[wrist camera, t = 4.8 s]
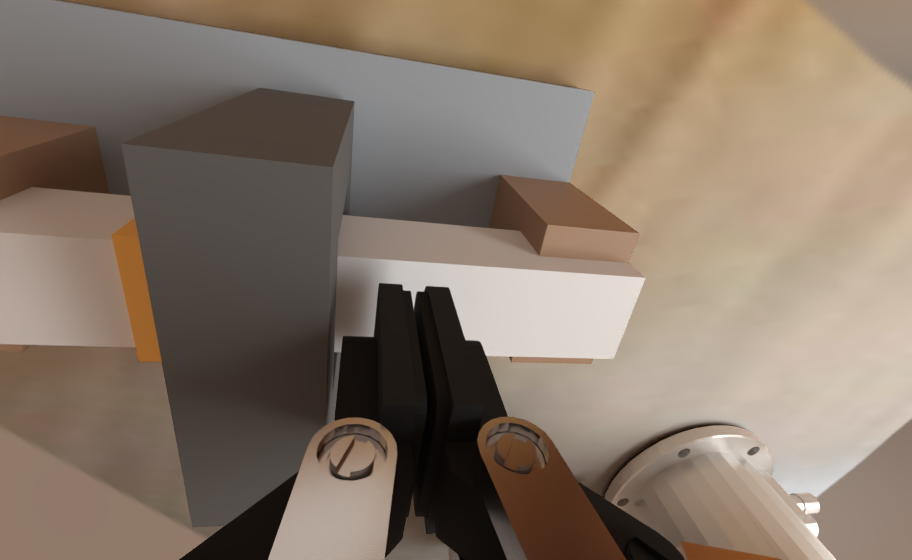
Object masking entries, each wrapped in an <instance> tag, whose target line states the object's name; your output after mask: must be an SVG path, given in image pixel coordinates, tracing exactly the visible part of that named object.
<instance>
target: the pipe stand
mask: <svg viewBox="0 0 912 560" xmlns="http://www.w3.org/2000/svg"><path fill="white" fill-rule="evenodd" d="M257 88H267V89H274V90H281V91H287V92H294V93H301V94H308V95H315V96H322V97H329V98H336V99H343V100H349V101H355V102H354V124H353V145H352V166H351V188H350V209H349V215H342V221H341V226H340V232H339V237H338V257H337V285H336V313H335V341H334V352H341V348H342V338H343V336H363V337H374V328H375V317H376V306H377V296H378V287H379V283H388V284H402V286H403V290H405V291H411V295H412V302H413V308H414V305H415V298H416V293H417V291H422V292H424V290H425V287H426V286H435V287H449V289H450V292H451V295H452V299H453V302H454V305H455V308H456V311H457V315H458V318H459V321H460V324H461V328H462V331H463V334H464V337H465V340H475V341H479V342H481V344H482V346H483V349H484V352H485V355H486V356H509V358H510V360H511V362H531V363H578V364H591V363H592V360H593V359H614V356H615V354H616V351H617V349H618V346H619V344H620V341H621V339H622V336H623V334H624V331H625V329H626V326H627V324H628V321H629V319H630V316H631V314H632V311H633V308H634V306H635V303H636V301H637V298H638V296H639V293H640V291H641V288H642V286H643V283H644V281H645V277H644V276H643V275H642V274H641V273H640V272H638V271H637V270H636V269H635V268H634V267H633V266H632V265H630V264H629V260H630V258H631V255H632V252H633V250H634V247H635V244H636V241H637V239H638V236H639V233H638V232H637V231H635V230H634V229H633V228H631V227H630V226H629V225H627V224H626V223H624V222H623V221H622V220H620V219H619V218H618V217H616V216H615V215H613V214H612V213H611V212H609V211H608V210H606V209H605V208H604V207H602V206H601V205H600V204H598V203H597V202H595V201H594V200H593V199H591V198H590V197H589V196H587V195H586V194H584V193H583V192H582V191H580V190H579V189H577V188H576V187H575V186H573V185H572V184H571V183H570V179H571V176H572V172H573V169H574V165H575V161H576V158H577V154H578V150H579V147H580V143H581V140H582V136H583V132H584V129H585V125H586V122H587V118H588V114H589V111H590V107H591V104H592V100H593V96H594V93H595V92H593V91H589V90H585V89H580V88H575V87H569V86H563V85H557V84H551V83H545V82H539V81H534V80H528V79H522V78H516V77H510V76H504V75H498V74H492V73H486V72H480V71H475V70H469V69H463V68H457V67H451V66H445V65H439V64H433V63H427V62H422V61H416V60H410V59H404V58H398V57H392V56H386V55H380V54H374V53H368V52H363V51H357V50H351V49H345V48H339V47H333V46H327V45H321V44H315V43H310V42H304V41H298V40H292V39H286V38H280V37H274V36H268V35H262V34H256V33H251V32H245V31H239V30H233V29H227V28H221V27H215V26H209V25H203V24H197V23H192V22H186V21H180V20H174V19H168V18H162V17H156V16H150V15H144V14H139V13H133V12H127V11H121V10H115V9H109V8H103V7H97V6H91V5H85V4H80V3H74V2H68V1H62V0H0V351H19V352H24V351H25V350H26V349H27V348H28V347H29V346H30V345H58V346H99V347H136V351H137V356H138V360H139V361H147V362H162V360H161V355H160V350H159V344H158V339H157V334H156V328H155V323H154V318H153V312H152V307H151V302H150V296H149V291H148V285H147V280H146V275H145V269H144V264H143V259H142V253H141V248H140V243H139V237H138V232H137V227H136V221H135V216H134V211H133V205H132V200H131V195H130V189H129V184H128V179H127V173H126V168H125V162H124V157H123V152H122V146H121V143H124V142H126V141H129V140H131V139H134V138H136V137H139V136H141V135H144V134H146V133H148V132H151V131H153V130H156V129H158V128H161V127H163V126H166V125H168V124H171V123H173V122H176V121H178V120H181V119H183V118H186V117H188V116H191V115H193V114H196V113H198V112H200V111H203V110H205V109H208V108H210V107H213V106H215V105H218V104H220V103H223V102H225V101H228V100H230V99H233V98H235V97H238V96H240V95H243V94H245V93H248V92H250V91H252V90H255V89H257Z"/></svg>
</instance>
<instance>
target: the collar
mask: <svg viewBox="0 0 912 560" xmlns="http://www.w3.org/2000/svg"><path fill="white" fill-rule="evenodd" d="M354 102H355V101H349V100H343V99H336V98H329V97H322V96H315V95H308V94H301V93H294V92H287V91H281V90H274V89H267V88H257V89H255V90H252V91H250V92H248V93H245V94H243V95H240V96H238V97H235V98H233V99H230V100H228V101H225V102H223V103H220V104H218V105H215V106H213V107H210V108H208V109H205V110H203V111H200V112H198V113H196V114H193V115H191V116H188V117H186V118H183V119H181V120H178V121H176V122H173V123H171V124H168V125H166V126H163V127H161V128H158V129H156V130H153V131H151V132H148V133H146V134H144V135H141V136H139V137H136V138H134V139H131V140H129V141H126V142H124V143H121V146H122V152H123V157H124V162H125V168H126V173H127V179H128V184H129V189H130V195H131V200H132V205H133V211H134V216H135V221H136V227H137V232H138V237H139V243H140V248H141V253H142V259H143V264H144V269H145V275H146V280H147V285H148V291H149V296H150V302H151V307H152V312H153V318H154V323H155V328H156V334H157V339H158V344H159V350H160V355H161V360H162V366H163V371H164V376H165V382H166V387H167V392H168V398H169V403H170V409H171V414H172V419H173V425H174V430H175V435H176V441H177V446H178V451H179V457H180V462H181V467H182V473H183V478H184V483H185V489H186V494H187V499H188V505H189V510H190V516H191V521H192V526H193V527H206V526H224V525H227V524H228V523H230V522H231V521H232V520H234V519H235V518H236V517H238V516H239V515H240V514H242V513H243V512H244V511H246V510H247V509H248V508H250V507H251V506H252V505H254V504H255V503H257V502H258V501H259V500H261V499H262V498H263V497H265V496H266V495H267V494H269V493H270V492H271V491H273V490H274V489H275V488H277V487H278V486H279V485H281V484H282V483H284V482H285V481H286V480H288V479H289V478H290V477H292V476H293V475H294V474H296V473H297V472H298V471H299V470H300V467H301V464H302V461H303V458H304V456H305V453H306V450H307V447H308V445H309V443H310V441H311V439H312V438H313V436H314V435H315V434H316V433H317V432H318V431H319V430H320V429H321V428H322V427H324V426H326V425H328V424H329V423H331V422H333V421H334V413H335V404H336V395H337V385H338V376H339V366H340V357H341V352H334V341H335V313H336V285H337V257H338V237H339V232H340V226H341V221H342V215H349V209H350V188H351V166H352V145H353V124H354Z"/></svg>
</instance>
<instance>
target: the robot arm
mask: <svg viewBox="0 0 912 560" xmlns="http://www.w3.org/2000/svg"><path fill="white" fill-rule="evenodd" d="M772 472H773V459H772V456H771V453H770V451H769V450H768V448H767V447H766V446H765V445H764V444H763V443H762V442H761V441H760V440H759V438H757V437H756V436H755V435H754V434H753V433H751V432H750V431H747V430H745V429H742V428H740V427H734V426H728V425H713V426H705V427H699V428H694V429H690V430H687V431H684V432H680V433H677V434H675V435H673V436H670V437H668V438H666V439H663V440H661V441H659V442H658V443H656V444H654V445H652V446H651V447H649V448H647V449H646V450H644V451H643V452H641V453H640V454H639V455H637V456H636V457H635V458H633V459H632V460H631V461H630V462H629V463H628V464H627V465H626V466H625V467H624V468H623V469H622V470H621V471H620V472H619V473H618V474H617V476H616V477H615V478H614V480H613V481H612V482H611V484H610V486H609V488H608V490H607V492H606V494H605V497H604V498H603V497H601V496H600V495H598V494H597V493H595V492H593V491H592V490H590V489H589V488H587V487H586V486H584V485H582V484H581V483H579V482H578V481H577V480H576V478H575V477H574V475H573V474H572V472H571V470H570V469H569V467H568V466H567V464H566V462H565V461H564V459H563V458H562V456H561V454H560V453H559V451H558V450H557V448H556V446H555V445H554V443H553V442H552V440H551V439H550V438H549V437H548V435H547V434H546V433H545V432H544V431H543V430H541V429H540V428H539V427H537V426H536V425H534V424H532V423H530V422H528V421H526V420H524V419H520V418H515V417H508V416H507V413H506V410H505V407H504V405H503V402H502V399H501V396H500V394H499V391H498V388H497V385H496V382H495V380H494V377H493V374H492V371H491V369H490V366H489V363H488V360H487V357H486V355H485V352H484V349H483V346H482V344H481V342H479V341H475V340H465V337H464V334H463V331H462V328H461V324H460V321H459V318H458V315H457V311H456V308H455V305H454V302H453V299H452V295H451V292H450V289H449V287H435V286H426V287H425V290H424V292H422V291H417V293H416V298H415V305H414V308H413V302H412V295H411V291H405V290H403V286H402V284H388V283H379V287H378V296H377V306H376V317H375V328H374V337H363V336H343V338H342V348H341V358H340V368H339V379H338V389H337V399H336V409H335V420H334V421H333V422H331V423H329V424H328V425H326V426H324V427H322V428H321V429H320V430H319V431H318V432H317V433H316V434H315V435H314V436H313V438H312V439H311V441H310V443H309V445H308V447H307V450H306V453H305V456H304V458H303V461H302V464H301V467H300V470H299V471H298V472H297V473H296V474H294V475H293V476H292V477H290V478H289V479H288V480H286V481H285V482H284V483H282V484H281V485H279V486H278V487H277V488H275V489H274V490H273V491H271V492H270V493H269V494H267V495H266V496H265V497H263V498H262V499H261V500H259V501H258V502H257V503H255V504H254V505H252V506H251V507H250V508H248V509H247V510H246V511H244V512H243V513H242V514H240V515H239V516H238V517H236V518H235V519H234V520H232V521H231V522H230V523H228V524H227V525H225V526H224V527H223V528H221V529H220V530H219V531H217V532H216V533H215V534H213V535H212V536H211V537H209V538H208V539H207V540H205V541H204V542H202V543H201V544H200V545H199V546H197V547H196V548H194V549H193V550H192V551H190V552H189V553H188V554H186V555H185V556H184V557H182V558H181V559H180V560H385V558H386V556H387V555H388V554H389V553H390V552H391V551H392V550H393V549H394V548H395V546H396V545H397V544H398V543H399V542H400V541H401V540H402V537H403V532H404V526H405V520H406V517H408V515H409V510H410V505H411V499H412V494H413V499H414V510H415V515H416V517H420V516H424V518H425V527H426V534H432V533H436V537H437V538H438V539H440V540H441V541H442V542H443V543H445V544H446V545H447V546H448V547H449V558H450V560H836V559H835V557H833V555H832V554H831V553H830V552H829V551H828V550H827V549H826V547H825V546H824V545H823V544H822V543H821V542H820V541H819V540H818V538H817V536H818V532H819V529H818V525H817V523H816V521H815V520H814V518H813V517H812V516H811V515H813V514H817V513H818V512H819V510H820V505H819V502H818V501H817V499H816V497H814V496H813V495H812V494H809V493H794V494H790V495H788V494H787V493H786V492H785V491H784V490H783V488H782V487H781V486H780V485H779V484H778V483H777V482H776V481H775V480H774V479H773V477H772Z"/></svg>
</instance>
